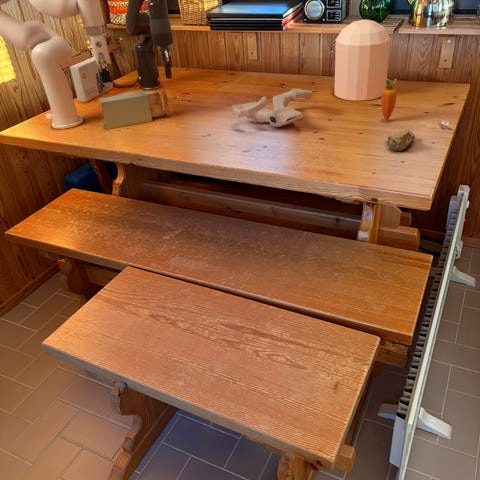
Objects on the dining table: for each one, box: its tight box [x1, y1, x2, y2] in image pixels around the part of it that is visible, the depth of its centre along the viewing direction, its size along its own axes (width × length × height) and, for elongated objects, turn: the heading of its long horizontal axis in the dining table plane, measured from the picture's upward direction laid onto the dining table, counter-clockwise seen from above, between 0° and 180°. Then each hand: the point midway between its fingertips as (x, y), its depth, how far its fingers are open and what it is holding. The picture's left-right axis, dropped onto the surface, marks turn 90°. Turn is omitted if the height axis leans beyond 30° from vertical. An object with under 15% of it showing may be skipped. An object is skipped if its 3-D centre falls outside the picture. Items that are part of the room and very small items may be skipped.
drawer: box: [147, 90, 182, 118], centre depth 186 cm, size 22×5×9 cm, turn 106°
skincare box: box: [69, 56, 113, 103], centre depth 218 cm, size 21×6×16 cm, turn 158°
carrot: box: [380, 78, 398, 122], centre depth 161 cm, size 5×5×15 cm
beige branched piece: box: [231, 88, 314, 128], centre depth 171 cm, size 28×26×12 cm
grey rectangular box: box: [99, 90, 153, 130], centre depth 184 cm, size 18×6×11 cm, turn 106°
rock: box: [387, 129, 416, 152], centre depth 146 cm, size 11×6×10 cm
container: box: [333, 19, 391, 102], centre depth 186 cm, size 21×21×28 cm
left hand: (106, 79), depth 176 cm, fingers open, 9 cm apart
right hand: (169, 78), depth 182 cm, fingers closed
